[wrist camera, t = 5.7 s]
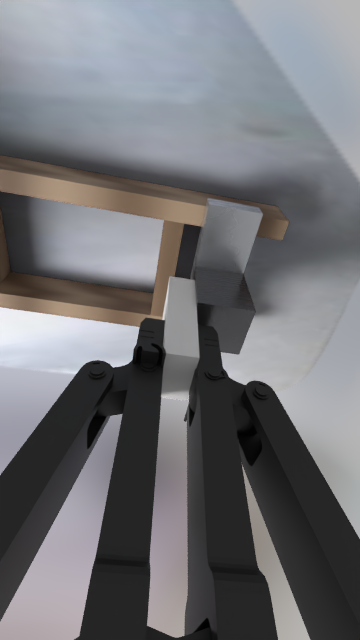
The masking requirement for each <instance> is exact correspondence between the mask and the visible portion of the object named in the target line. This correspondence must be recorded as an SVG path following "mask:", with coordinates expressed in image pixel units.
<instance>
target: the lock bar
mask: <svg viewBox="0 0 360 640" xmlns="http://www.w3.org/2000/svg"><path fill="white" fill-rule="evenodd" d="M262 216H263V213H262V211H261V210H260V208H259V207H254V206H249V205H243V204H238V203H233V202H227V201H222V200H216V199H211V198H207V203H206V208H205V212H204V217H203V221H202V226H201V231H200V235H199V240H198V244H197V249H196V253H195V258H194V263H193V267H192V272H191V276H190V279H191V280H195V289H196V305H197V322H198V325H204V326H211V327H214V329H215V330H216V332H217V333H218V338H219V345H220V347H219V348H220V352H225V353H232V354H239V353H240V350H241V348H242V345H243V343H244V340H245V337H246V335H247V332H248V330H249V327H250V325H251V322H252V319H253V317H254V314H255V312H256V311H255V308H254V305H253V302H252V299H251V296H250V293H249V290H248V287H247V284H246V281H245V278H244V275H243V274H244V271H245V267H246V264H247V261H248V258H249V255H250V252H251V249H252V246H253V243H254V240H255V237H256V234H257V231H258V228H259V225H260V222H261V219H262Z"/></svg>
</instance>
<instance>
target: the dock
mask: <svg viewBox="0 0 360 640" xmlns="http://www.w3.org/2000/svg"><path fill="white" fill-rule="evenodd" d="M0 191H2V192H7V193H13V194H19V195H25V196H30V197H36V198H42V199H47V200H53V201H59V202H64V203H70V204H76V205H82V206H87V207H93V208H99V209H104V210H110V211H116V212H121V213H127V214H133V215H138V216H144V217H150V218H156V219H161V220H164V225H163V232H162V239H161V246H160V253H159V260H158V266H157V273H156V280H155V287H154V293H147V292H141V291H134V290H127V289H121V288H114V287H108V286H101V285H95V284H88V283H82V282H75V281H68V280H62V279H55V278H49V277H42V276H36V275H29V274H22V273H16V272H11V269H10V263H9V257H8V250H7V244H6V238H5V232H4V226H3V220H2V214H1V207H0V307H3V308H10V309H17V310H24V311H31V312H38V313H45V314H52V315H59V316H66V317H74V318H81V319H88V320H95V321H102V322H109V323H116V324H123V325H130V326H137V327H140V324H141V322H142V321H143V320H144V319H145V318H153V319H160V320H162V319H163V311H164V306H165V300H166V294H167V289H168V283H169V277H170V276H172V277H174V276H175V271H176V265H177V260H178V255H179V249H180V244H181V238H182V233H183V227H184V224H190V225H195V226H202V221H203V217H204V212H205V208H206V203H207V198H211V199H216V200H222V201H227V202H233V203H238V204H243V205H249V206H254V207H259V208H260V210H261V211H262V213H263V216H262V219H261V222H260V225H259V228H258V231H257V234H256V236H258V237H264V238H270V239H275V240H281V241H282V240H283V237H284V234H285V232H286V229H287V227H288V224H289V220H288V219H287V218H286V217H285V216H284V214H283V213H282V212H281V211H280V209H279V208H278V207H277V206H272V205H266V204H261V203H256V202H250V201H245V200H239V199H234V198H229V197H223V196H218V195H213V194H207V193H202V192H196V191H191V190H186V189H180V188H175V187H170V186H164V185H159V184H154V183H148V182H143V181H137V180H132V179H127V178H121V177H116V176H111V175H105V174H100V173H94V172H89V171H84V170H78V169H73V168H68V167H62V166H57V165H51V164H46V163H41V162H35V161H30V160H25V159H19V158H14V157H8V156H3V155H0Z"/></svg>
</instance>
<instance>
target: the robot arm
mask: <svg viewBox="0 0 360 640" xmlns="http://www.w3.org/2000/svg"><path fill="white" fill-rule="evenodd" d="M219 347H220V345H219V338H218V333H217V332H216V330H215V329H214V327H211V326H204V325H198V322H197V305H196V289H195V280H191V279H185V278H179V277H172V276H170V277H169V283H168V289H167V294H166V300H165V306H164V311H163V319H162V320H160V319H153V318H145V319H144V320H143V321H142V322H141V324H140V329H139V334H138V339H137V345H136V346H135V348H134V353H133V360H132V361H131V362H130V363H129V364H127V365H125V366H121V367H115V368H113V367H112V366H111V365H110V364H108V363H106V362H104V361H99V360H97V361H91V362H88V363H86V364H85V365H84V366H83V367H82V368H81V369H80V370H79V372H78V373H77V374H76V376H75V377H74V378H73V380H72V381H71V382H70V384H69V385H68V386H67V387H66V389H65V390H64V391H63V393H62V394H61V395H60V397H59V398H58V399H57V401H56V402H55V403H54V405H53V406H52V407H51V409H50V410H49V411H48V413H47V414H46V415H45V417H44V418H43V419H42V421H41V422H40V423H39V425H38V426H37V427H36V429H35V430H34V431H33V433H32V434H31V435H30V437H29V438H28V439H27V441H26V442H25V443H24V444H23V446H22V447H21V448H20V450H19V451H18V452H17V454H16V455H15V457H14V458H13V459H12V461H11V462H10V463H9V464H8V466H7V467H6V468H5V470H4V471H3V473H2V474H1V475H0V621H1V619H2V617H3V615H4V613H5V611H6V609H7V608H8V606H9V604H10V602H11V600H12V598H13V597H14V595H15V593H16V591H17V589H18V587H19V585H20V584H21V582H22V580H23V578H24V576H25V574H26V572H27V570H28V569H29V567H30V565H31V563H32V561H33V559H34V558H35V556H36V554H37V552H38V550H39V548H40V546H41V545H42V543H43V541H44V539H45V537H46V535H47V533H48V531H49V530H50V528H51V526H52V524H53V522H54V520H55V518H56V517H57V515H58V513H59V511H60V509H61V507H62V505H63V503H64V502H65V500H66V498H67V496H68V494H69V492H70V491H71V489H72V487H73V485H74V483H75V481H76V479H77V478H78V476H79V474H80V472H81V469H82V468H83V466H84V464H85V463H86V461H87V459H88V457H89V455H90V453H91V451H92V450H93V448H94V446H95V444H96V442H97V440H98V438H99V437H100V435H101V433H102V431H103V429H104V427H105V425H106V423H107V422H108V420H109V418H110V416H112V415H118V414H123V415H122V421H121V426H120V431H119V437H118V442H117V447H116V453H115V458H114V463H113V468H112V474H111V479H110V484H109V490H108V495H107V501H106V506H105V511H104V516H103V521H102V527H101V533H100V537H99V543H98V548H97V553H96V558H95V561H94V565H93V569H92V574H91V579H90V584H89V589H88V595H87V600H86V605H85V610H84V615H83V621H82V626H81V631H80V636H79V637H78V638H76V639H75V640H278V637H277V631H276V625H275V619H274V614H273V608H272V602H271V596H270V591H269V587H268V583H267V581H266V578H265V576H264V575H263V574H262V573H261V572H260V570H259V568H258V566H257V561H256V555H255V549H254V542H253V535H252V529H251V523H250V516H249V509H248V503H247V497H246V489H245V484H244V476H243V470H242V465H243V467H244V470H245V473H246V475H247V478H248V480H249V483H250V485H251V488H252V491H253V493H254V496H255V498H256V501H257V503H258V506H259V508H260V511H261V513H262V516H263V518H264V521H265V524H266V527H267V529H268V532H269V534H270V537H271V539H272V542H273V544H274V547H275V550H276V552H277V555H278V557H279V560H280V562H281V565H282V568H283V570H284V573H285V575H286V578H287V580H288V583H289V585H290V588H291V591H292V593H293V596H294V598H295V601H296V604H297V606H298V608H299V611H300V614H301V616H302V619H303V621H304V624H305V626H306V629H307V632H308V634H309V637H310V639H311V640H360V539H359V537H358V535H357V534H356V532H355V530H354V529H353V527H352V525H351V523H350V522H349V520H348V518H347V516H346V515H345V513H344V511H343V509H342V508H341V506H340V504H339V503H338V501H337V499H336V498H335V496H334V494H333V492H332V490H331V489H330V487H329V485H328V483H327V482H326V480H325V478H324V477H323V475H322V473H321V472H320V470H319V468H318V466H317V465H316V463H315V461H314V459H313V458H312V456H311V454H310V452H309V451H308V449H307V447H306V445H305V444H304V442H303V440H302V439H301V437H300V435H299V433H298V432H297V430H296V428H295V426H294V425H293V423H292V421H291V420H290V418H289V416H288V415H287V413H286V411H285V410H284V408H283V406H282V404H281V402H280V401H279V399H278V397H277V395H276V394H275V392H274V391H273V389H272V388H271V387H270V386H268V385H267V384H265V383H263V382H260V381H251V382H249V383H248V384H247V385H243V384H241V383H238V382H236V381H234V380H232V379H231V378H229V377H228V374H227V372H226V371H225V370H224V369H223V367H222V359H221V352H220V348H219ZM188 396H189V405H188V408H187V412H186V415H185V418H184V421H187V493H188V494H187V496H188V497H187V502H188V504H187V507H188V596H187V603H186V611H185V636H182V637H179V638H174V637H171V636H169V635H167V634H165V633H162V632H160V631H158V630H155V629H153V628H151V627H149V626H147V617H148V602H149V588H150V563H149V560H150V559H149V558H150V542H151V529H152V515H153V502H154V487H155V474H156V461H157V460H156V459H157V447H158V433H159V420H160V405H161V398H169V399H176V400H184V401H187V399H188ZM241 462H242V463H241Z"/></svg>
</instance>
